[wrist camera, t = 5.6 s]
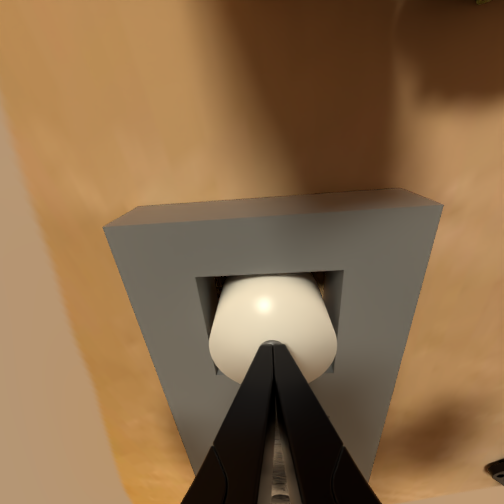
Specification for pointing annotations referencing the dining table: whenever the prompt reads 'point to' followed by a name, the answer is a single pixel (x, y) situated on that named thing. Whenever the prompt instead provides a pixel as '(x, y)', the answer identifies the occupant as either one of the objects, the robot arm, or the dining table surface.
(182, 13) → the dining table surface
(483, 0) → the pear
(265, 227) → the grey flat block
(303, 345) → the button one
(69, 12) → the dining table surface
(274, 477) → the button two
